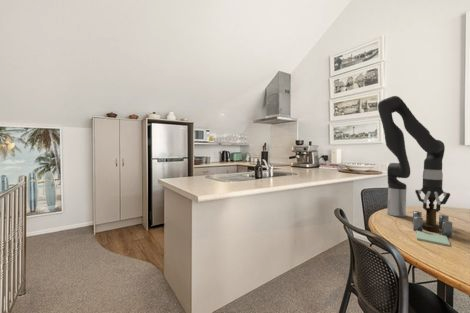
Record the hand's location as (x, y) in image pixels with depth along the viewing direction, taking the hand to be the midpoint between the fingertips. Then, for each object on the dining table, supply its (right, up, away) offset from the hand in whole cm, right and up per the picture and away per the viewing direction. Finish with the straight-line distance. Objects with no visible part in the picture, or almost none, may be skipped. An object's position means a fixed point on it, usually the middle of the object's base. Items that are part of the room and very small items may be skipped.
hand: (431, 210), depth 111 cm
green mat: (-9, -11, -10) cm, 18 cm away
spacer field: (0, -10, 0) cm, 10 cm away
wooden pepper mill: (0, -10, 0) cm, 10 cm away
